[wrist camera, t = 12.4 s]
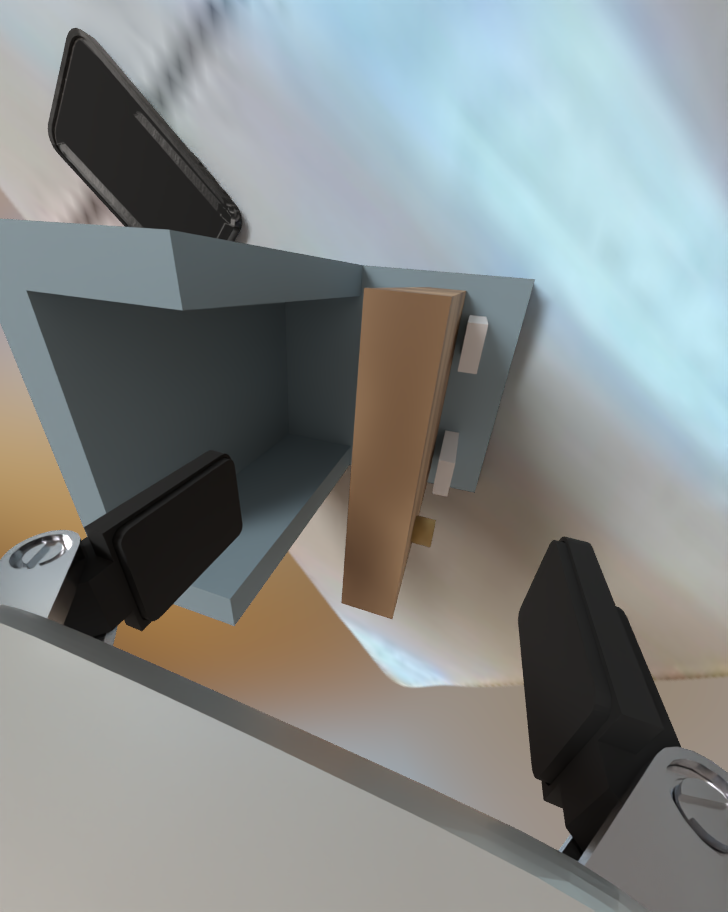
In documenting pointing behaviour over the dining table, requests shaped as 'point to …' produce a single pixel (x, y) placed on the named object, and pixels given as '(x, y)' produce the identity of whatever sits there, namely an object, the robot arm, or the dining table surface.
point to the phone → (131, 149)
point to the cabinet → (225, 373)
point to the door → (395, 435)
